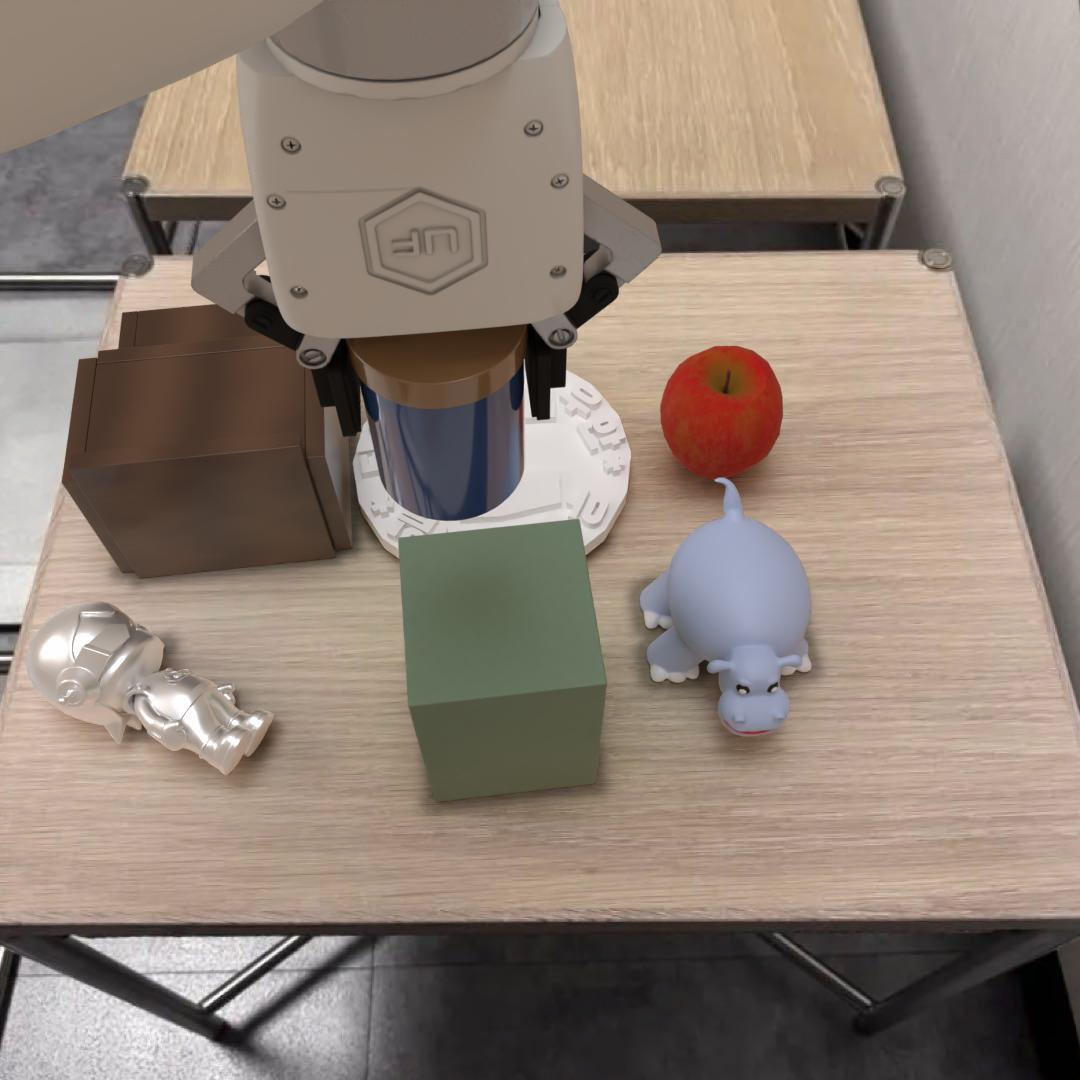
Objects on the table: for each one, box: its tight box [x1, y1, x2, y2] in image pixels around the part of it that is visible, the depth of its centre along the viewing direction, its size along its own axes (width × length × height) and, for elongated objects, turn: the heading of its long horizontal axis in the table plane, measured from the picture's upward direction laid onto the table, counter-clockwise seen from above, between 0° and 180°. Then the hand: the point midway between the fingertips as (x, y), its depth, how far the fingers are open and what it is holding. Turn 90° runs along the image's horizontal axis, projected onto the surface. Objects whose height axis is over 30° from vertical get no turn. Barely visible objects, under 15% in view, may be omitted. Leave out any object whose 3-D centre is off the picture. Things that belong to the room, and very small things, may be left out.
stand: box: [398, 519, 608, 803], centre depth 62 cm, size 10×10×15 cm
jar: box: [344, 324, 529, 521], centre depth 43 cm, size 7×7×9 cm
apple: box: [659, 345, 784, 481], centre depth 75 cm, size 9×8×11 cm
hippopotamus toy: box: [639, 478, 812, 737], centre depth 67 cm, size 11×15×10 cm
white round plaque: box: [352, 359, 632, 559], centre depth 78 cm, size 20×20×3 cm
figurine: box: [26, 600, 274, 776], centre depth 66 cm, size 11×7×15 cm
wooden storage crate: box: [61, 303, 353, 579], centre depth 75 cm, size 16×21×13 cm
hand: (444, 398), depth 43 cm, fingers closed on jar, 6 cm apart
